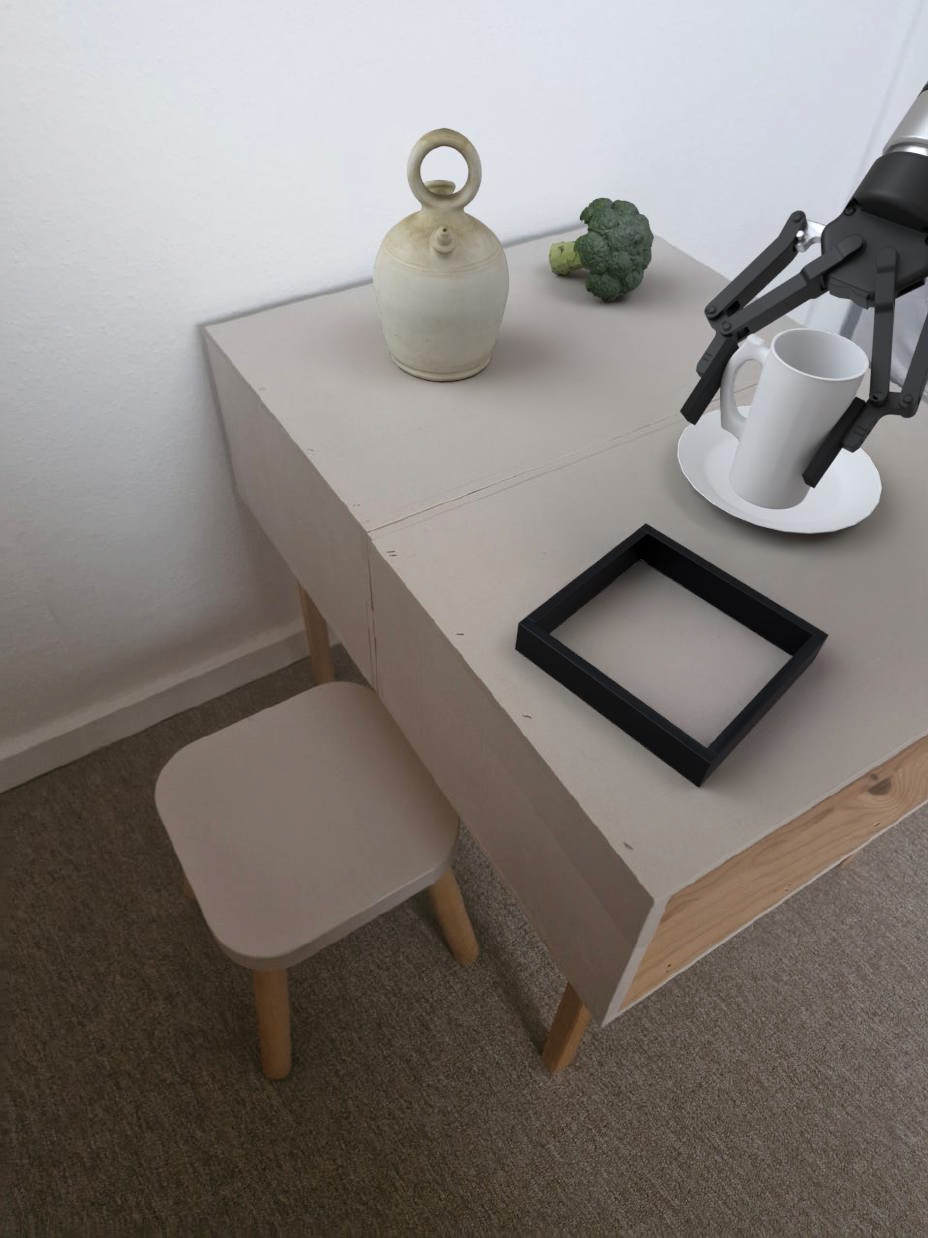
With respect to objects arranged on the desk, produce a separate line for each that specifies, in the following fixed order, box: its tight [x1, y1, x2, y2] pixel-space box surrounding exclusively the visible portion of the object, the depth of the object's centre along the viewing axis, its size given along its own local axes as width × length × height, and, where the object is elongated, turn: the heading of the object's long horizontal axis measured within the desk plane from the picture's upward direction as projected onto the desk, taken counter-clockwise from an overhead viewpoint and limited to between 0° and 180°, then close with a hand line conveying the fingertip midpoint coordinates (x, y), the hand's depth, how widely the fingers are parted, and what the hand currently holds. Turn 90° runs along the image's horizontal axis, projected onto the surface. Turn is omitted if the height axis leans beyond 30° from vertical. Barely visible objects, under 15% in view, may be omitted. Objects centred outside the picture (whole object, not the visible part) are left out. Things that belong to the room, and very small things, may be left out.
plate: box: [676, 405, 883, 535], centre depth 89 cm, size 21×21×2 cm
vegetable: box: [548, 197, 655, 302], centre depth 113 cm, size 12×13×15 cm
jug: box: [372, 127, 510, 382], centre depth 94 cm, size 15×16×25 cm
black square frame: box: [514, 522, 829, 788], centre depth 72 cm, size 19×18×4 cm
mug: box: [719, 327, 870, 509], centre depth 65 cm, size 10×7×12 cm, turn 42°
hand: (745, 449), depth 65 cm, fingers closed on mug, 10 cm apart
